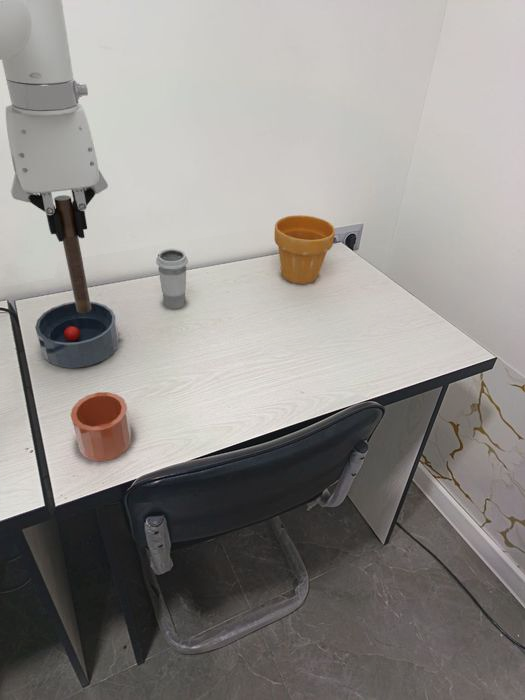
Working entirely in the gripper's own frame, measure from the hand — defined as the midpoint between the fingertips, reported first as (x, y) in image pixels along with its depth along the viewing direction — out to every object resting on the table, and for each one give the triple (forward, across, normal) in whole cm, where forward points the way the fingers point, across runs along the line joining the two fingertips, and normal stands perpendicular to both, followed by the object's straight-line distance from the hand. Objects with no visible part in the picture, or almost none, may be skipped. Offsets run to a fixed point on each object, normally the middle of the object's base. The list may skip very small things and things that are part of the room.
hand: (69, 235), depth 71 cm
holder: (+29, +2, +14) cm, 32 cm away
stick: (+13, 0, 0) cm, 13 cm away
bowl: (+29, 0, -12) cm, 31 cm away
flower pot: (+29, -55, -19) cm, 65 cm away
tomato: (+28, +2, -14) cm, 31 cm away
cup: (+29, -22, -19) cm, 41 cm away
